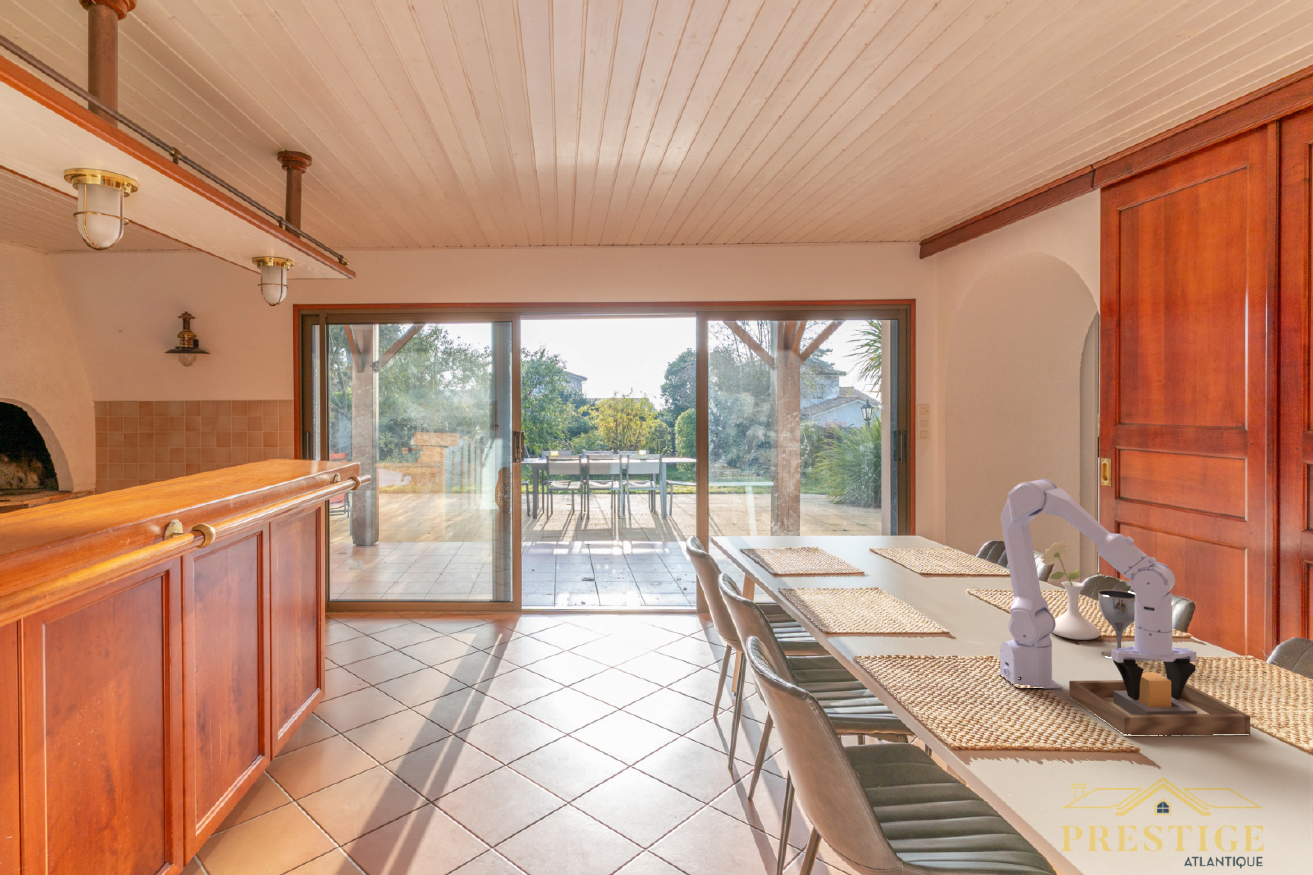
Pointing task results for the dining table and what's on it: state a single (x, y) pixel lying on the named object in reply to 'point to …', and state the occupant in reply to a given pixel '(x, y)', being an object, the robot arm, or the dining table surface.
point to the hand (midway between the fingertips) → (1153, 697)
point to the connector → (1155, 690)
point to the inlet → (1141, 709)
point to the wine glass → (1117, 612)
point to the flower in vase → (1069, 599)
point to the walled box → (1206, 722)
